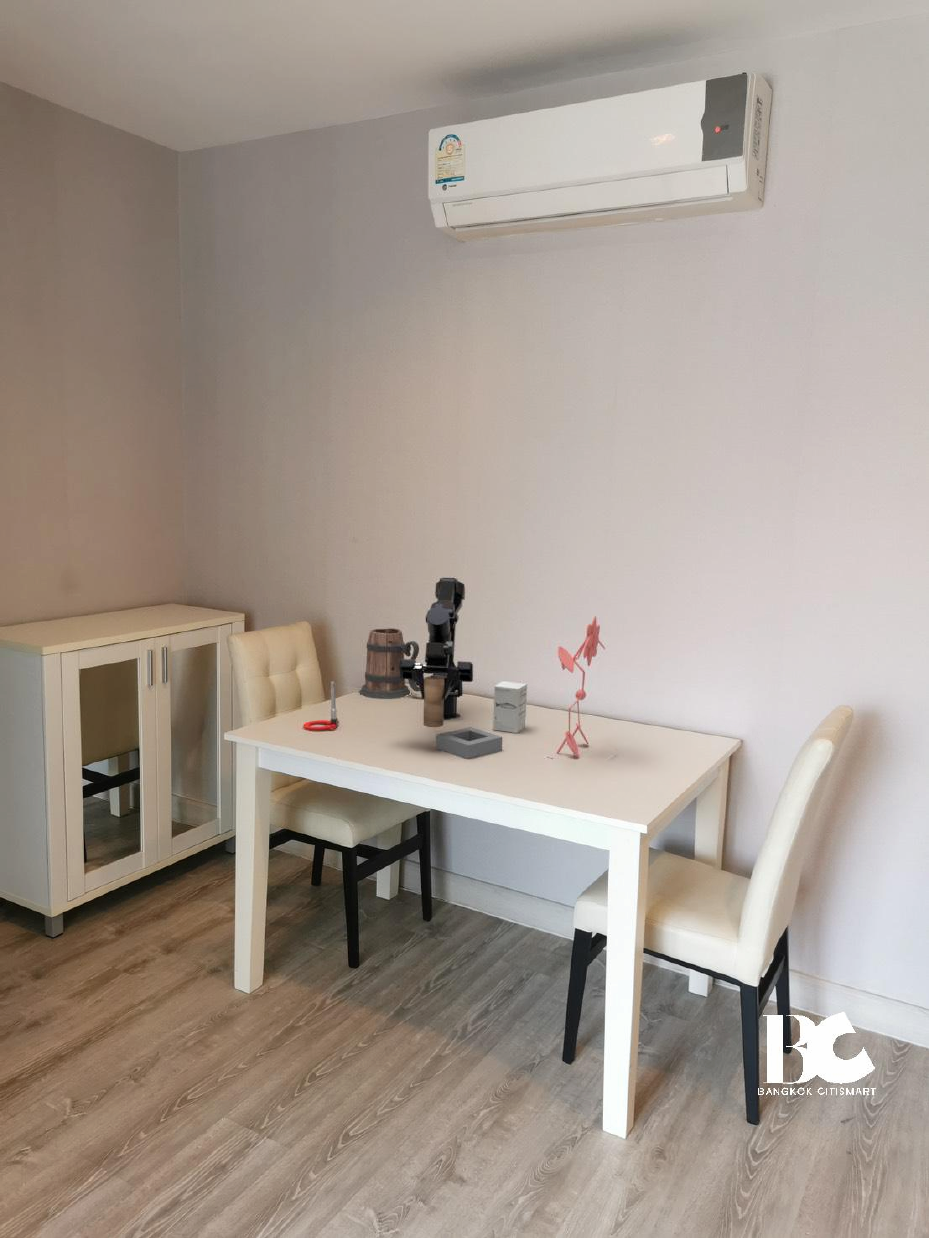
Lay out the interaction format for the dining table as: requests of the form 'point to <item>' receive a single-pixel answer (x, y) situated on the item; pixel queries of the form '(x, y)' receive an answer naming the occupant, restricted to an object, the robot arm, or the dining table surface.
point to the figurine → (569, 662)
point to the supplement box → (509, 706)
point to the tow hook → (329, 724)
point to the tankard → (387, 665)
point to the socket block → (468, 742)
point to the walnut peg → (433, 701)
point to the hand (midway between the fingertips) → (433, 698)
